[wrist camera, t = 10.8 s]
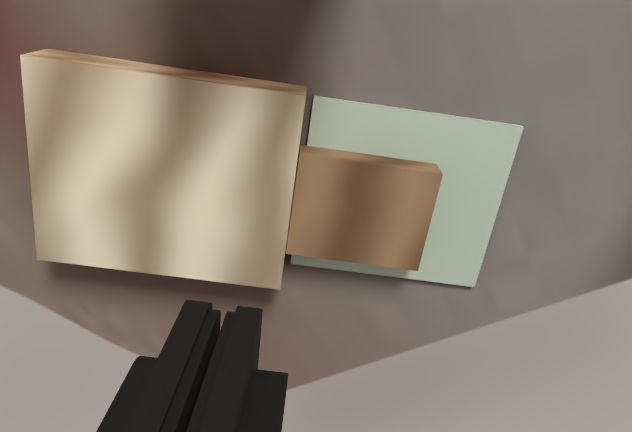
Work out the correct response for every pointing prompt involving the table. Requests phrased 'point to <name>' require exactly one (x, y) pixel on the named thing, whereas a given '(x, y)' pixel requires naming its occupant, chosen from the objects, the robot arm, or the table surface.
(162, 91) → the deck
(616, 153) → the table surface
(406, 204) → the tile
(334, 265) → the mat
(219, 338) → the robot arm
